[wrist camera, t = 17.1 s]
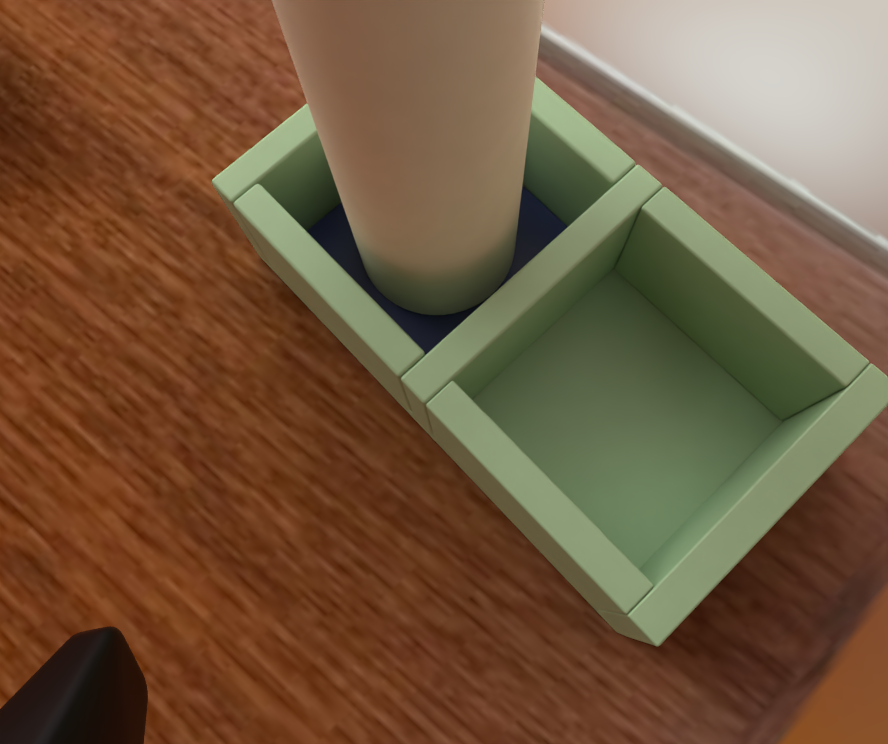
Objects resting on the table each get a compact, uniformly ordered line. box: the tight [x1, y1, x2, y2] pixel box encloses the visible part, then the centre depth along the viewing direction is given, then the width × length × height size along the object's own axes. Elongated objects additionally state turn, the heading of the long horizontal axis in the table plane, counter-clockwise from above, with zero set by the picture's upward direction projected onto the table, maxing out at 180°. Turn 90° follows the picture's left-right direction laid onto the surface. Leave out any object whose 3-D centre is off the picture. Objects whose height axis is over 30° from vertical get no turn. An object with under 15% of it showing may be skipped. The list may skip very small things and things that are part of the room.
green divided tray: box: [212, 76, 888, 647], centre depth 16 cm, size 12×6×4 cm, turn 43°
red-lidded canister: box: [272, 0, 544, 315], centre depth 11 cm, size 4×4×13 cm
